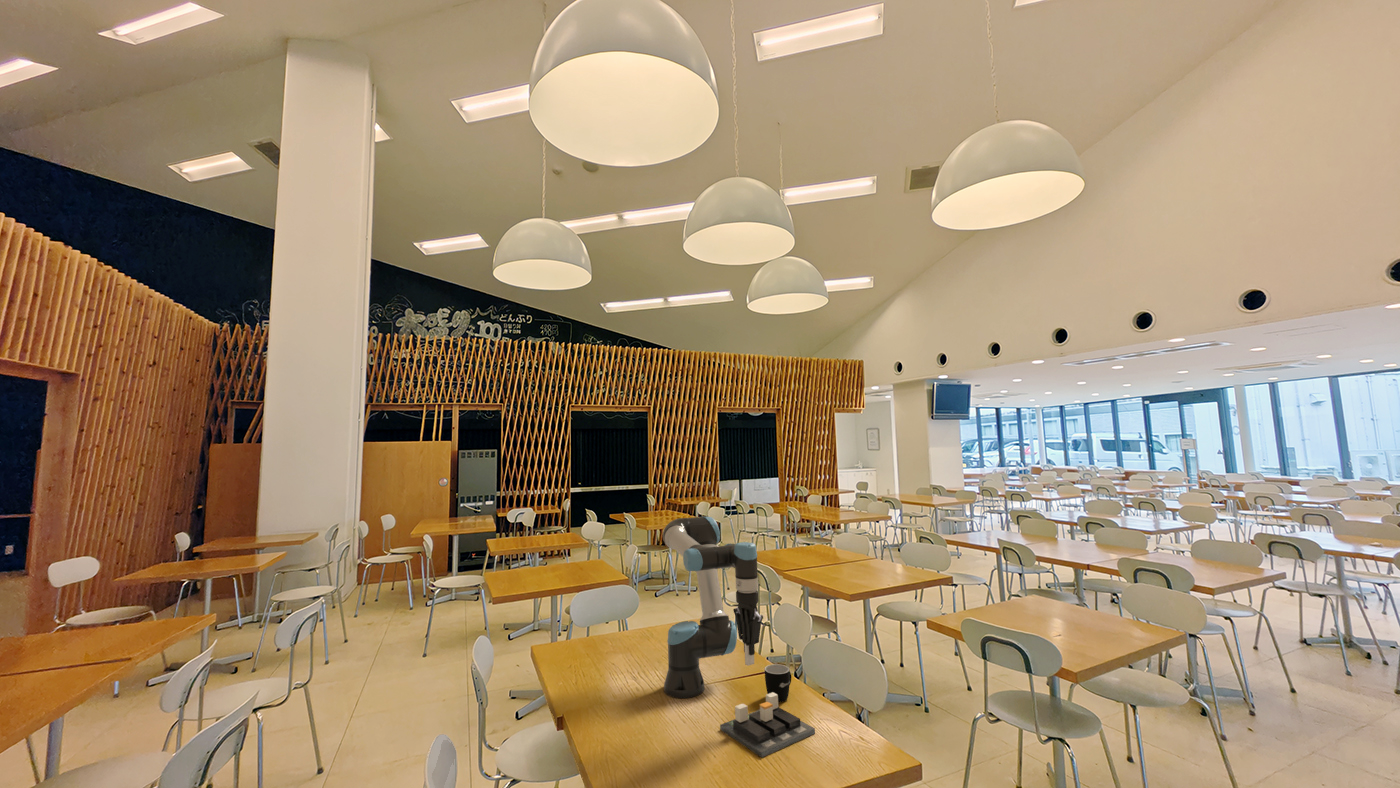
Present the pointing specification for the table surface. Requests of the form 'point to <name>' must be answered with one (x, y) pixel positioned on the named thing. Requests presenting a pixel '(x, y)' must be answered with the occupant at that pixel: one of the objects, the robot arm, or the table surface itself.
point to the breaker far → (772, 699)
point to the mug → (778, 680)
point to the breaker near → (741, 712)
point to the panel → (770, 749)
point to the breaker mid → (766, 711)
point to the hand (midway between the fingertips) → (749, 664)
